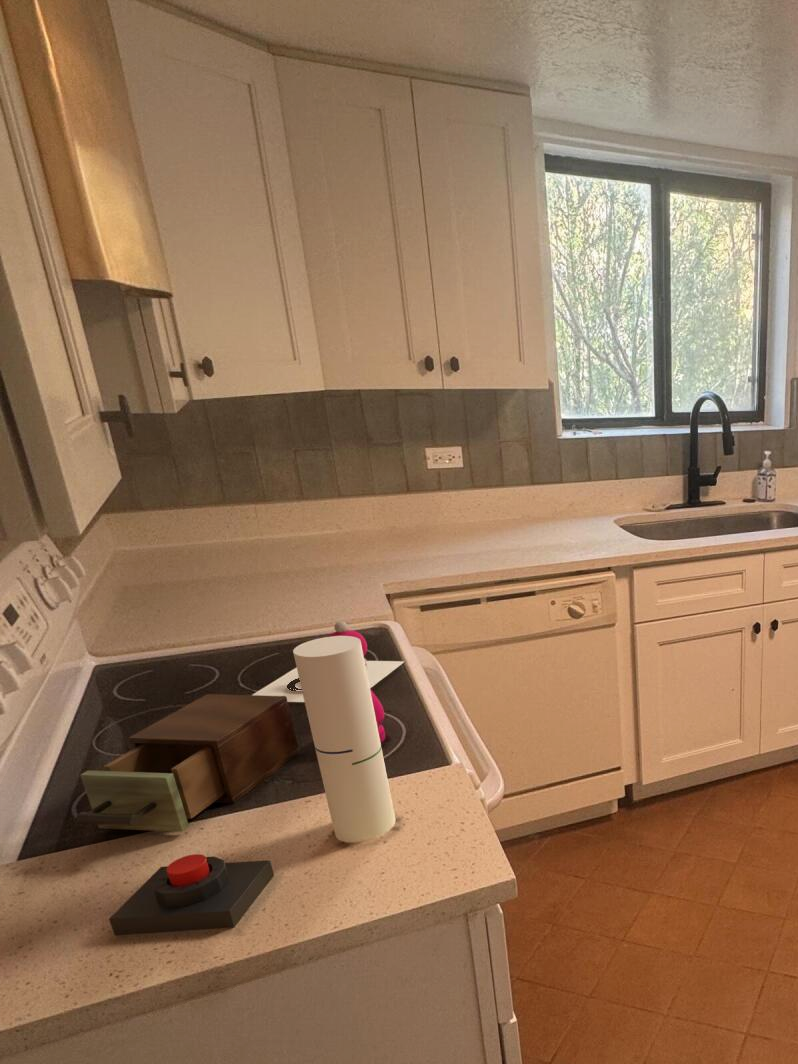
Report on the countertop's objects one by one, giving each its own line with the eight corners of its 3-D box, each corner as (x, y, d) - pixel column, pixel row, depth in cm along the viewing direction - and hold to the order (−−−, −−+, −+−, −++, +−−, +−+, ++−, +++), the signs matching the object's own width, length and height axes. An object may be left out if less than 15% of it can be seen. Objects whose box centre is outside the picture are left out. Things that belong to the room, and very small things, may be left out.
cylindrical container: (338, 817, 103) (298, 640, 94) (396, 807, 105) (363, 632, 97) (331, 847, 97) (288, 660, 88) (394, 835, 99) (357, 651, 90)
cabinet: (233, 803, 107) (216, 740, 103) (147, 800, 108) (127, 737, 104) (299, 752, 120) (286, 695, 117) (222, 750, 121) (207, 693, 118)
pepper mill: (342, 734, 126) (317, 617, 119) (391, 728, 128) (369, 612, 121) (335, 755, 119) (308, 632, 112) (386, 748, 121) (362, 626, 114)
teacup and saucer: (306, 674, 150) (302, 654, 148) (346, 675, 149) (342, 655, 148) (277, 693, 142) (272, 672, 140) (320, 694, 141) (315, 673, 140)
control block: (114, 936, 82) (103, 904, 81) (166, 882, 91) (156, 853, 89) (234, 928, 83) (225, 897, 82) (274, 875, 92) (266, 846, 90)
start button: (163, 888, 84) (158, 875, 83) (182, 868, 87) (178, 855, 87) (198, 886, 84) (194, 873, 84) (216, 866, 88) (212, 853, 87)
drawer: (156, 851, 95) (138, 795, 92) (69, 847, 96) (48, 792, 93) (254, 778, 111) (241, 728, 109) (179, 775, 112) (164, 726, 109)
